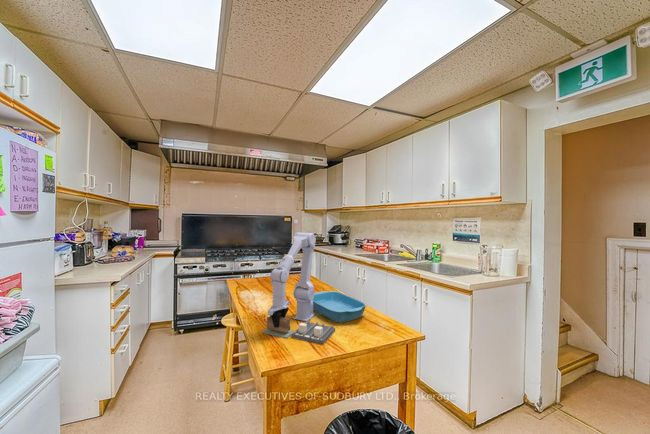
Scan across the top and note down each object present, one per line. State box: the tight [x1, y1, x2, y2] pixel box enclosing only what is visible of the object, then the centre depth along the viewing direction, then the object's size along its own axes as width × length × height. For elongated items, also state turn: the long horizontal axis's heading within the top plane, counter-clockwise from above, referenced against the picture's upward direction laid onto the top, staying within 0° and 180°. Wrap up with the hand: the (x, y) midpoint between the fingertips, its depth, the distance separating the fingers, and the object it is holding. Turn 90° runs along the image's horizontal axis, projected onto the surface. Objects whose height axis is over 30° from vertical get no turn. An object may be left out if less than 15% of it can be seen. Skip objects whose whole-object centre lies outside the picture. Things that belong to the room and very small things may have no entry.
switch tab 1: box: [297, 322, 307, 333], centre depth 117 cm, size 2×3×3 cm
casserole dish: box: [312, 290, 367, 323], centre depth 146 cm, size 37×22×7 cm, turn 33°
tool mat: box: [261, 328, 295, 339], centre depth 119 cm, size 6×13×1 cm, turn 67°
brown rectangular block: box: [266, 315, 291, 333], centre depth 119 cm, size 4×10×5 cm, turn 67°
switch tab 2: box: [314, 326, 323, 337], centre depth 114 cm, size 2×3×3 cm
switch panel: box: [290, 319, 336, 345], centre depth 119 cm, size 14×15×2 cm
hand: (278, 325), depth 119 cm, fingers closed on brown rectangular block, 3 cm apart
